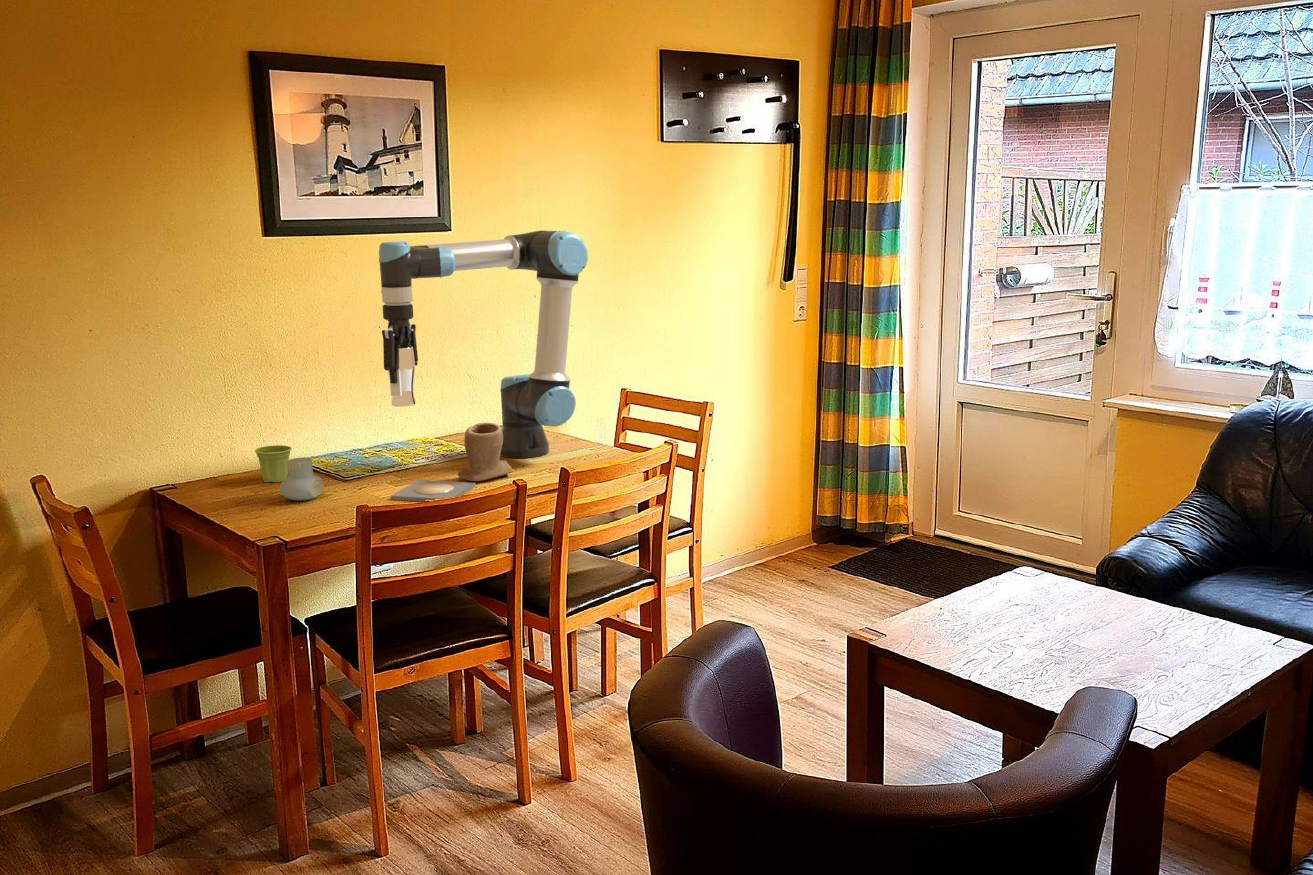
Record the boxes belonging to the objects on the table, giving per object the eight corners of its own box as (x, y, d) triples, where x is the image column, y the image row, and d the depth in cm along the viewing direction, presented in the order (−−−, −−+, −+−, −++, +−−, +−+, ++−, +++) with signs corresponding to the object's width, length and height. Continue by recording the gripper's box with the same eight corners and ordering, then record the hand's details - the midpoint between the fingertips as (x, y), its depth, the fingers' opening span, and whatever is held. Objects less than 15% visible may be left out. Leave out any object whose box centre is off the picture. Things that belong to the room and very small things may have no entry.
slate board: (419, 483, 299) (418, 479, 298) (475, 486, 295) (475, 482, 295) (391, 499, 284) (391, 495, 283) (450, 502, 280) (450, 498, 280)
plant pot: (283, 474, 311) (281, 443, 309) (300, 479, 304) (297, 448, 302) (251, 480, 304) (248, 449, 302) (267, 486, 298) (264, 454, 296)
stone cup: (477, 487, 294) (474, 431, 291) (452, 479, 303) (449, 424, 300) (524, 477, 304) (522, 422, 301) (498, 469, 313) (496, 416, 310)
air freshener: (307, 504, 280) (304, 465, 278) (277, 503, 282) (273, 464, 279) (327, 493, 291) (324, 455, 288) (298, 492, 292) (294, 454, 290)
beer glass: (410, 407, 287) (406, 349, 284) (385, 406, 288) (381, 348, 285) (421, 402, 293) (418, 345, 290) (397, 401, 295) (393, 344, 292)
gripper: (402, 299, 295) (407, 386, 300) (364, 307, 277) (371, 399, 282) (428, 300, 293) (433, 387, 298) (392, 307, 275) (398, 400, 280)
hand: (403, 393), depth 290 cm, fingers closed on beer glass, 6 cm apart
